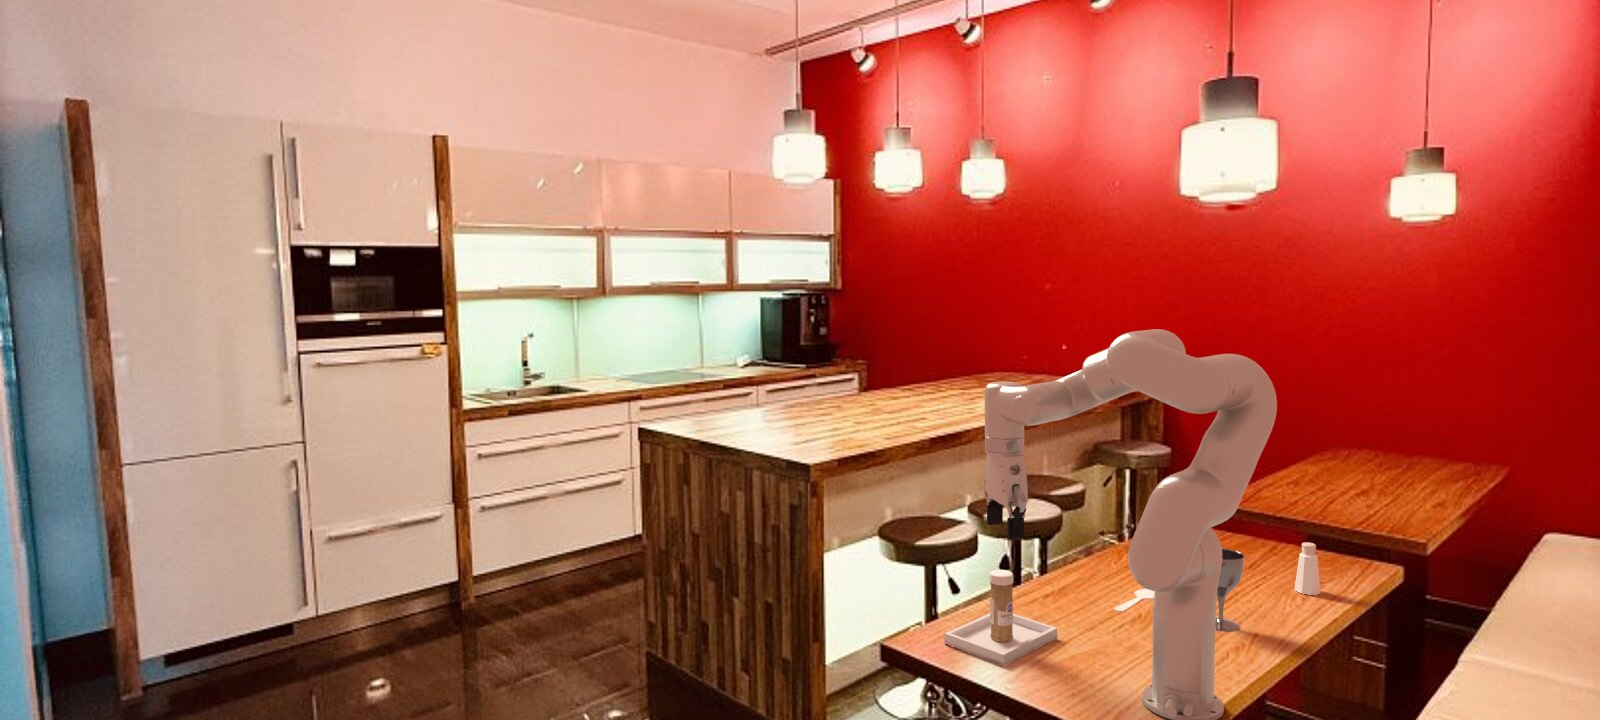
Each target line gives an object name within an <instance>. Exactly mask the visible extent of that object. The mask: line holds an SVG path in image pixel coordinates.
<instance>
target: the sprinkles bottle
mask: <svg viewBox="0 0 1600 720" xmlns="http://www.w3.org/2000/svg"><path fill="white" fill-rule="evenodd" d="M989 583H990V597H989V599H990V600H989V601H990V603H989V604H990V606H989V608H990V610H989V611H990V612H989V614H990V622H991V634H990V637H991V639H993V640H995V641H998V642H1008V641H1011V640H1012V639H1013V624H1012V623H1013V614H1014V606H1013V605H1014V604H1013V583H1014V574H1013V572H1012V571H1010V570H1006V569H994V570H991V571H990V572H989Z"/></svg>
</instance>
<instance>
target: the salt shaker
mask: <svg viewBox="0 0 1600 720" xmlns="http://www.w3.org/2000/svg"><path fill="white" fill-rule="evenodd" d="M1316 547H1317V545H1316V544H1315V543H1313V542H1308V541H1307V542H1305V541H1304V542H1302V543H1301V552H1300V553H1299V557H1298V562H1297V570H1296V577H1295V583H1294V590H1295V591H1294V592H1296V591H1297V592H1296V593H1298V592H1299V593H1298V594H1300V593H1302V594H1301V595H1304V594H1307V595H1306V596H1311V595H1314V596H1319V595H1318V594H1320V595H1321V584H1320V574H1319V573H1320V571H1319V559H1318V555H1317V554H1316Z"/></svg>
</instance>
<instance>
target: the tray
mask: <svg viewBox="0 0 1600 720" xmlns="http://www.w3.org/2000/svg"><path fill="white" fill-rule="evenodd" d="M1012 624H1013V639H1012V640H1011V641H1008V642H998V641H995V640H993V639H991V637H990V634H991V622H990V613H988V614H985V615H983V616H980V617H979V618H977V619H974V620H971V621H969V622H967V623H965V624H963V625H960V626H959V627H958V626H957V628H953V629H952V630H949V631H947V632H944V644H945V643H946V644H949V645H951V646H954V647H956V648H958V649H957V650H959V649H961V650H960V651H962V650H963V651H962V652H964V651H966V652H965V653H967V652H969V653H968V654H970V653H971V654H970V655H972V654H973V656H975V655H976V656H975V657H978V656H979V657H978V658H980V657H981V658H980V659H983V660H986V661H988V662H991V663H993V664H994V663H995V664H996V665H999V666H1002V667H1005V666H1007V665H1009V664H1011V663H1012V661H1013V662H1014V660H1015V661H1017V660H1019V659H1021V658H1023V657H1024V656H1026V655H1028V654H1030V653H1032V652H1033V650H1034V651H1036V650H1038V649H1040V648H1042V647H1043V645H1044V646H1045V644H1046V645H1048V644H1049V642H1050V643H1051V641H1052V642H1053V640H1054V641H1055V640H1057V639H1058V627H1056V626H1052V625H1049V624H1047V623H1044V622H1040V621H1037V620H1033V619H1031V618H1027V617H1024V616H1021V615H1018V614H1015V613H1013V623H1012ZM1047 643H1048V644H1047ZM946 644H945V645H946ZM951 646H950V647H951ZM1041 646H1042V647H1041ZM954 647H953V648H954ZM1039 647H1040V648H1039ZM956 648H955V649H956ZM1037 648H1038V649H1037ZM1031 651H1032V652H1031ZM1029 652H1030V653H1029ZM1027 653H1028V654H1027ZM1025 654H1026V655H1025ZM1018 658H1019V659H1018ZM1016 659H1017V660H1016ZM1010 662H1011V663H1010ZM1008 663H1009V664H1008ZM1006 664H1007V665H1006ZM1004 665H1005V666H1004Z"/></svg>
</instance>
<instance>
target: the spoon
mask: <svg viewBox="0 0 1600 720" xmlns="http://www.w3.org/2000/svg"><path fill="white" fill-rule="evenodd" d="M1154 593H1155V591H1151V590H1148V589H1146V588H1141V589H1137V590H1136V591H1134V593H1133V594H1135V595H1134V596H1135V598H1132V599H1130V600H1128V601H1126V602H1125V601H1124V603H1121V604H1119V605H1117V606H1114V607H1113V610H1114V611H1116V612H1125V611H1126V610H1128V609H1129V608H1131V607H1133V606H1134V605H1136V604H1137V603H1139V602H1140V601H1142V600H1145V599H1146V600H1151V599H1152V600H1154Z"/></svg>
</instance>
